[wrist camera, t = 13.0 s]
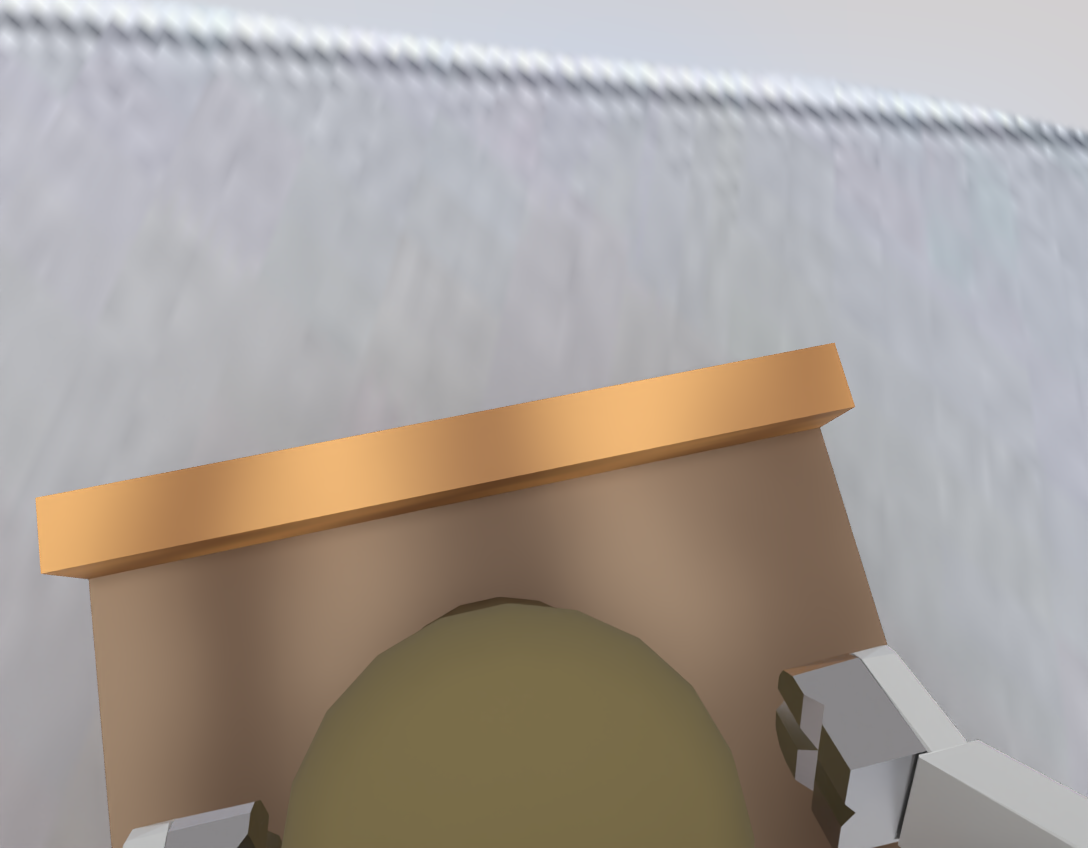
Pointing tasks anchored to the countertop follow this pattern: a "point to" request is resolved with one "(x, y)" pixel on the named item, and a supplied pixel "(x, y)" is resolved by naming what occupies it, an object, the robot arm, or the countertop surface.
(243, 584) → the dock
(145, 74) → the countertop surface
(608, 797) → the cork
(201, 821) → the robot arm
